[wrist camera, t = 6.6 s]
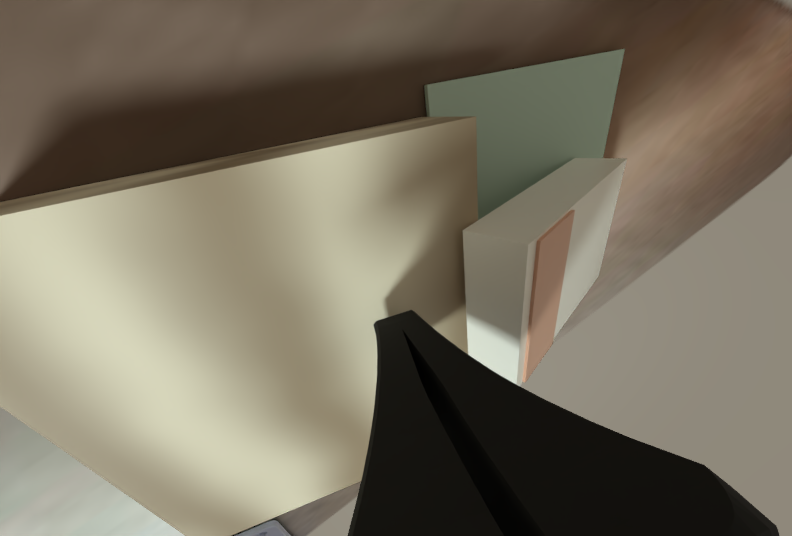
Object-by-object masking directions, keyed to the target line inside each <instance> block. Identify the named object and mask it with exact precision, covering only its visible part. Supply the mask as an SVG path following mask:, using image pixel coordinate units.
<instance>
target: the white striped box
mask: <svg viewBox="0 0 792 536" xmlns="http://www.w3.org/2000/svg"><path fill="white" fill-rule="evenodd" d="M626 161H627V158H574V159H572V160H571V161H569V162H568V163H566V164H565V165H563V166H562V167H560V168H558V169H557V170H555V171H554V172H552V173H551V174H549V175H548V176H546V177H545V178H543V179H541V180H540V181H538V182H537V183H535V184H534V185H532V186H531V187H529V188H527V189H526V190H524V191H523V192H521V193H520V194H518V195H517V196H515V197H514V198H512V199H510V200H509V201H507V202H506V203H504V204H503V205H501V206H500V207H498V208H496V209H495V210H493V211H492V212H490V213H489V214H487V215H486V216H484V217H482V218H481V219H479V220H478V221H476V222H475V223H473V224H472V225H470V226H469V227H467V228H465V229H464V230H463V250H464V273H465V295H466V317H467V339H468V355H470V356H471V357H473V358H474V359H476V360H477V361H479V362H480V363H482V364H483V365H485V366H486V367H488V368H489V369H491V370H492V371H494V372H496V373H497V374H499V375H501V376H502V377H504V378H506V379H507V380H509V381H511V382H513V383H514V384H516V385H518V386H521V384H522V383H523V382H526V381H527V380H528V378H529V377H530V375H531V374H532V372H533V371H534V370H535V368H536V367H537V365H538V364H539V363H540V361H541V360H542V358H543V357H544V355H545V354H546V353H547V351H548V350H549V348H550V347H551V346H552V344H553V339H554V338H555V337H556V335H557V334H558V332H559V331H560V330H561V328H562V327H563V325H564V324H565V323H566V321H567V320H568V318H569V317H570V316H571V314H572V313H573V311H574V310H575V309H576V307H577V306H578V304H579V303H580V302H581V300H582V299H583V297H584V296H585V295H586V293H587V292H588V290H589V289H590V288H591V286H592V285H593V283H594V282H595V281H596V279H597V278H598V276H599V273H600V269H601V264H602V260H603V256H604V252H605V248H606V244H607V240H608V235H609V231H610V227H611V223H612V219H613V215H614V210H615V206H616V202H617V198H618V194H619V190H620V186H621V181H622V177H623V173H624V169H625V165H626Z"/></svg>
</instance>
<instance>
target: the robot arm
mask: <svg viewBox="0 0 792 536" xmlns="http://www.w3.org/2000/svg"><path fill="white" fill-rule="evenodd" d="M373 326H374V329H375V333H376V340H377V382H376V394H375V405H374V413H373V420H372V427H371V433H370V439H369V445H368V450H367V455H366V460H365V465H364V470H363V475H362V480H361V484H360V489H359V493H358V498H357V501H356V506H355V509H354V513H353V517H352V521H351V525H350V529H349V533H348V536H779V533H778V529H777V527H776V525H775V524H773V523H772V522H771V521H770V520H769V519H768V518H767V517H765V516H764V515H763V514H762V513H761V512H760V511H758V510H757V509H756V508H755V507H754V506H753V505H752V504H750V503H749V502H748V501H747V500H746V499H745V498H743V497H742V496H741V495H740V494H739V493H738V492H737V491H736V490H734V489H733V488H732V487H731V486H730V485H728V484H727V483H726V482H725V481H723V480H722V479H721V478H719V477H718V476H717V475H716V474H715V473H713V472H712V471H711V470H710V469H708V468H707V467H706V466H705V465H702V464H699V463H697V462H694V461H692V460H689V459H686V458H683V457H681V456H678V455H675V454H672V453H670V452H667V451H664V450H662V449H659V448H656V447H654V446H651V445H648V444H645V443H643V442H640V441H637V440H635V439H632V438H629V437H627V436H624V435H622V434H619V433H617V432H615V431H613V430H610V429H608V428H605V427H603V426H601V425H598V424H596V423H594V422H591V421H589V420H587V419H584V418H583V417H581V416H578V415H576V414H574V413H572V412H570V411H568V410H566V409H563V408H561V407H559V406H557V405H555V404H553V403H551V402H548V401H546V400H544V399H542V398H540V397H538V396H536V395H535V394H533V393H531V392H529V391H527V390H525V389H524V388H521V387H520V386H518V385H516V384H514V383H513V382H511V381H509V380H507V379H506V378H504V377H502V376H501V375H499V374H497V373H496V372H494V371H492V370H491V369H489V368H488V367H486V366H485V365H483V364H482V363H480V362H479V361H477V360H476V359H474V358H473V357H471V356H470V355H468V354H467V353H465V352H464V351H462V350H461V349H460V348H458V347H457V346H456V345H454V344H453V343H452V342H450V341H449V340H448V339H446V338H445V337H444V336H443V335H441V334H440V333H439V332H438V331H436V330H435V329H434V328H433V327H431V326H430V325H429V324H428V323H427V322H426V321H425V320H423V319H422V318H421V317H420V316H419V315H418V314H417V313H416V312H415V311H413V310H409V311H406V312H403V313H400V314H397V315H393V316H390V317H387V318H384V319H381V320H378V321H376V322H375V323H374V325H373ZM235 536H291V535H290V534H289V533H288V532H287V531H286V530H285V529H284V528H283V526H282V525H281V524H280V523H279V522H278V521H276V520H272V521H269V522H266V523H264V524H261V525H259V526H257V527H254V528H252V529H249V530H247V531H245V532H242V533H240V534H237V535H235Z"/></svg>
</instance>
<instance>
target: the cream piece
mask: <svg viewBox="0 0 792 536" xmlns="http://www.w3.org/2000/svg"><path fill="white" fill-rule="evenodd" d="M476 221H478V195H477V128H476V116H461V117H419V118H414V119H409V120H404V121H399V122H394V123H389V124H384V125H379V126H374V127H369V128H364V129H359V130H354V131H349V132H344V133H339V134H335V135H330V136H325V137H320V138H315V139H310V140H305V141H300V142H295V143H290V144H285V145H280V146H275V147H270V148H265V149H260V150H255V151H250V152H245V153H240V154H236V155H231V156H226V157H221V158H216V159H211V160H206V161H201V162H196V163H191V164H186V165H181V166H176V167H171V168H166V169H161V170H156V171H151V172H146V173H141V174H136V175H132V176H127V177H122V178H117V179H112V180H107V181H102V182H97V183H92V184H87V185H82V186H77V187H72V188H67V189H62V190H57V191H52V192H47V193H42V194H37V195H33V196H28V197H23V198H18V199H13V200H8V201H3V202H0V407H1V408H3V409H4V410H6V411H7V412H9V413H10V414H12V415H13V416H14V417H16V418H17V419H19V420H20V421H22V422H23V423H24V424H26V425H27V426H29V427H30V428H32V429H33V430H34V431H36V432H37V433H39V434H40V435H42V436H43V437H45V438H46V439H47V440H49V441H50V442H52V443H53V444H55V445H56V446H57V447H59V448H60V449H62V450H63V451H65V452H66V453H68V454H69V455H70V456H72V457H73V458H75V459H76V460H78V461H79V462H80V463H82V464H83V465H85V466H86V467H88V468H89V469H90V470H92V471H93V472H95V473H96V474H98V475H99V476H101V477H102V478H103V479H105V480H106V481H108V482H109V483H111V484H112V485H113V486H115V487H116V488H118V489H119V490H121V491H122V492H123V493H125V494H126V495H128V496H129V497H131V498H132V499H134V500H135V501H136V502H138V503H139V504H141V505H142V506H144V507H145V508H146V509H148V510H149V511H151V512H152V513H154V514H155V515H156V516H158V517H159V518H161V519H162V520H164V521H165V522H167V523H168V524H169V525H171V526H172V527H174V528H175V529H177V530H178V531H179V532H181V533H182V534H184V535H185V536H231V535H234V534H236V533H239V532H241V531H243V530H246V529H248V528H251V527H253V526H255V525H258V524H260V523H262V522H265V521H267V520H270V519H272V518H274V517H277V516H279V515H282V514H284V513H286V512H289V511H291V510H294V509H296V508H298V507H301V506H303V505H306V504H308V503H310V502H313V501H315V500H317V499H320V498H322V497H325V496H327V495H329V494H332V493H334V492H337V491H339V490H341V489H344V488H346V487H349V486H351V485H353V484H356V483H358V482H361V480H362V475H363V470H364V465H365V460H366V455H367V450H368V445H369V439H370V433H371V427H372V420H373V413H374V405H375V394H376V382H377V340H376V333H375V329H374V326H373V325H374V323H375V322H376V321H378V320H381V319H384V318H387V317H390V316H393V315H397V314H400V313H403V312H406V311H409V310H413V311H415V312H416V313H417V314H418V315H419V316H420V317H421V318H422V319H423V320H425V321H426V322H427V323H428V324H429V325H430V326H431V327H433V328H434V329H435V330H436V331H438V332H439V333H440V334H441V335H443V336H444V337H445V338H446V339H448V340H449V341H450V342H452V343H453V344H454V345H456V346H457V347H458V348H460V349H461V350H462V351H464V352H465V353H467V354H468V339H467V317H466V295H465V273H464V250H463V230H464V229H465V228H467V227H469V226H470V225H472V224H473V223H475V222H476Z"/></svg>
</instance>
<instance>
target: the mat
mask: <svg viewBox="0 0 792 536" xmlns="http://www.w3.org/2000/svg"><path fill="white" fill-rule="evenodd" d="M624 51H625V49H621V50H615V51H610V52H604V53H599V54H593V55H588V56H582V57H577V58H571V59H566V60H560V61H555V62H549V63H544V64H538V65H533V66H527V67H522V68H516V69H511V70H505V71H500V72H494V73H489V74H483V75H478V76H472V77H467V78H461V79H456V80H450V81H445V82H439V83H434V84H428V85H424V90H425V101H426V111H427V117H461V116H476V128H477V195H478V220H479V219H481V218H482V217H484V216H486V215H487V214H489V213H490V212H492V211H493V210H495V209H496V208H498V207H500V206H501V205H503V204H504V203H506V202H507V201H509V200H510V199H512V198H514V197H515V196H517V195H518V194H520V193H521V192H523V191H524V190H526V189H527V188H529V187H531V186H532V185H534V184H535V183H537V182H538V181H540V180H541V179H543V178H545V177H546V176H548V175H549V174H551V173H552V172H554V171H555V170H557V169H558V168H560V167H562V166H563V165H565V164H566V163H568V162H569V161H571V160H572V159H574V158H603V156H604V151H605V146H606V141H607V136H608V131H609V126H610V121H611V116H612V111H613V106H614V101H615V96H616V91H617V86H618V81H619V76H620V71H621V66H622V61H623V56H624Z"/></svg>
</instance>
